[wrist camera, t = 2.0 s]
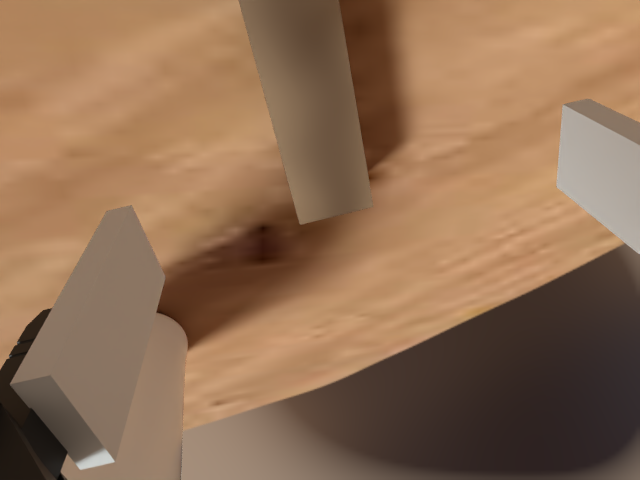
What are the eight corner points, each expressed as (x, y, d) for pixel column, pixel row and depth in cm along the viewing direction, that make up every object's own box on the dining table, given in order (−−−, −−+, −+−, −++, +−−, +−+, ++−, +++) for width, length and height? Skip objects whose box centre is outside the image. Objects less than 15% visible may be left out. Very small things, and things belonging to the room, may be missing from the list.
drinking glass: (173, 383, 35) (130, 630, 23) (80, 352, 33) (-27, 612, 20) (217, 321, 33) (197, 561, 20) (120, 283, 30) (27, 530, 17)
